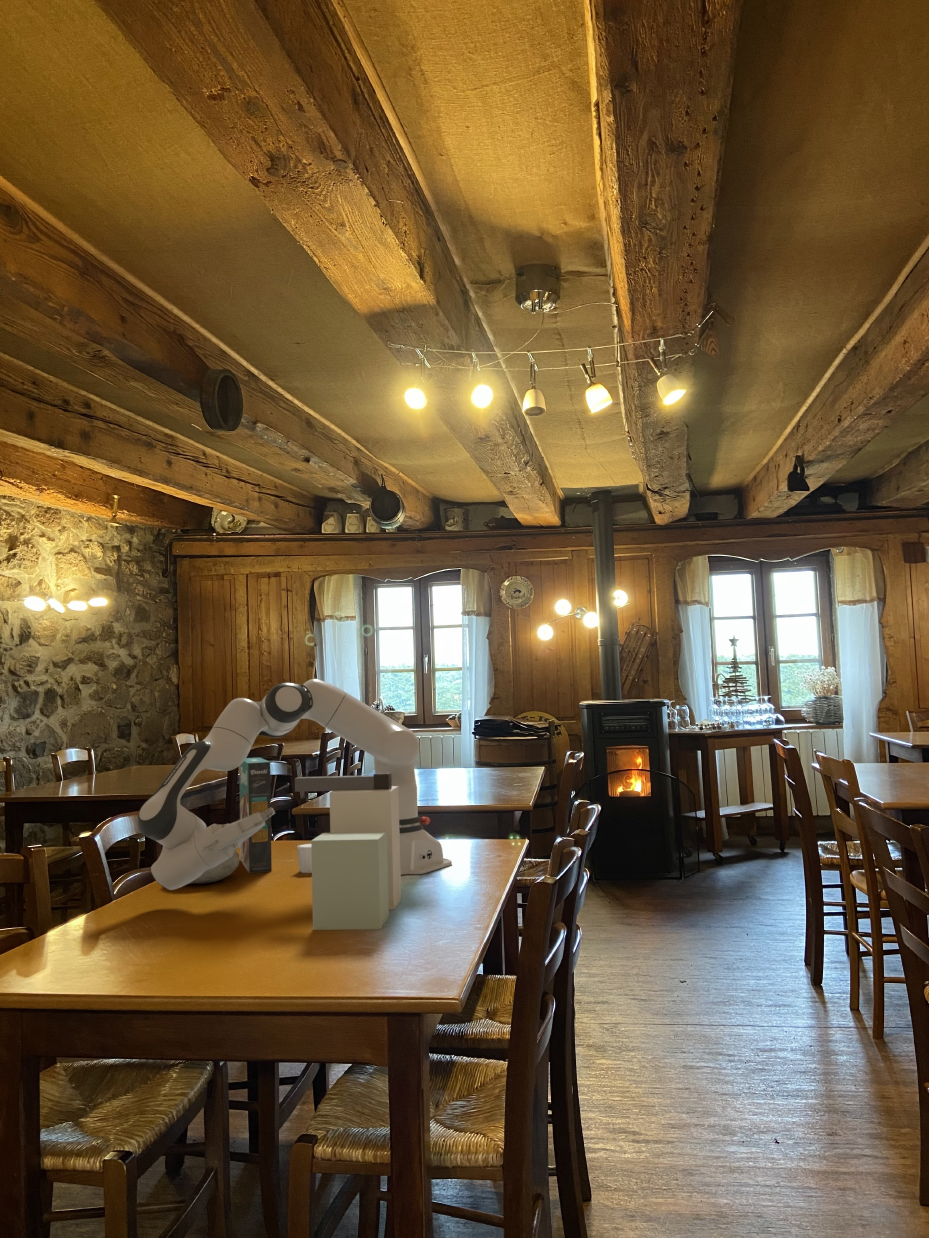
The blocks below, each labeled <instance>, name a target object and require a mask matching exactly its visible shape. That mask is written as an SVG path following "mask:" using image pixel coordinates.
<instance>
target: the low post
mask: <svg viewBox="0 0 929 1238" xmlns="http://www.w3.org/2000/svg"><path fill="white" fill-rule="evenodd" d="M311 849H312V873H311V885H312V886H311V887H312V888H311V891H312V892H311V893H312V895H311V898H312V903H311V904H312V930H313V931H332V930H333V931H335V930H336V931H337V930H338V931H339V930H341V931H342V930H343V931H344V930H346V931H348V930H357V931H358V930H381V929H382V928H383V926H384V925H385V923H387V921H388V919H389V918H390V910H389V896H388V856H387V832H339V833H330V832H322V833H320V834H319V835H318V836H316V837H314V838H313V839H311Z"/></svg>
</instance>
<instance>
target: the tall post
mask: <svg viewBox="0 0 929 1238" xmlns="http://www.w3.org/2000/svg"><path fill="white" fill-rule="evenodd" d="M329 827H330V828H329V831H330V832H329V833H339V832H387V856H388V896H389V911H394V910H395V909H396V908H397V906H398V905H399V903H400V901H401V900H402V883H401V882H402V878H401V877H402V875H401V871H400V833H399V795H398V786H392V788H391V789H389V790H342V791H329Z"/></svg>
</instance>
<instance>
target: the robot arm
mask: <svg viewBox="0 0 929 1238" xmlns="http://www.w3.org/2000/svg"><path fill="white" fill-rule="evenodd" d="M301 719H303V720H305V719H307V720H311V721H313V722H315V723H318V724H319V725H320V726H321V727H323V728H325V729H327V730H328V731H330V732H332V733H334V734H335V735H337V736H338V737H340V738H342V739H343V740H345V741H347V742H349V743H350V744H352V745H353V746H356V747H357V748H359V749H360V750H362V751H364V752H365V753H367V754H369V755H371V756H372V757H373V762H374V763H373V764H374V774H375V773H391V780H392V786H398V795H399V833H400V871H401V876H402V875H422V874H426V873H429V872H432V871H436V870H439V869H442V868H445V867H449V866H451V865H453V864H452V863H453V862H452V861H451V859H448V858H444V853H443V847H442V844H441V842H440V841H439V840H437V839H436V838H435V837H434V836H432V835H431V834H430V833H429V832H427V831H426V830H425V829H424V825H429V824H430V822H431V819H430V818H429V817H428V816H422V817H420V816H419V815H418V813H419V812H418V811H419V810H418V785H417V781H416V780H417V779H416V773H415V765H414V761H415V760H416V758H418V755H419V751H420V742H419V739H418V737H417V735H416V733H414V732H413V731H412V730H411V729H409V727H406V726H405V725H403V724H401V723H399V722H398V721H395V720H394V719H393V718H391V717H389V716H387V715H385V714H384V713H381V712H380V711H378V710H377V709H376V708H375V709H374V708H372V707H371V706H369V705H367V704H366V703H364V702H363V701H361V700H359V699H358V698H356V697H354V696H353V695H351V694H349V693H348V692H346V691H344V690H343V689H341V688H339V687H337V686H335V685H333V684H331V683H328V682H326V681H324V680H321V679H318V678H312V679H309V680H306V681H305V682H304V683H303V684H300V683H299V684H297V683H292V682H282V683H278V684H276V685H274V686H273V687H272V688H270V690H268V692H267V693H266V695H265V696H264V697H263V698H262V700H261V701H254V700H251V699H249V698H246V697H237V698H234V699H232V700H231V701H229V703H228V704H227V705H226V707H225V708H224V709H223V710H222V712H221V713H220V714H219V716H218V718H217V719H216V721H215V723H214V724H213V726H212V728H211V730H210V732H209V733H208V735H206V737H205V738H204V739H203V740H198V741H195V742H194V743H192V744H191V745H190V746H189V747H188V748H187V749H186V751H185V752H184V753H183V754H182V756H181V757H180V758H179V760H178V761H177V762H176V763H175V765H174V766H173V767H172V769H171V770H170V772H169V773H167V776H166V777H165V778H164V780H163V781H162V782H161V784H160V785H159V786H158V788H157V789H156V790H155V791H154V793H153V794H151V796H150V797H149V798H148V799H147V800H145V801H144V803H143V804H142V805H141V807H140V808H139V811H138V813H137V829H138V830H139V833H140V834H141V835H143V836H145V837H147V838H148V839H151V840H152V841H155V842H158V844H160V845H162V849H161V852H160V855H159V857H158V858H157V860H156V861H155V862H154V863H153V864H152V865H151V867H150V871H151V874H152V877H153V879H154V880H155V881H156V882H157V883H158V885H159V886H161V887H162V888H165V889H166V890H168V891H173V890H177V889H180V888H182V887H184V886H186V885H189V884H188V883H190V882H192V881H193V880H195V879H197V878H198V877H200V876H201V875H202V874H203V873H204V872H205V871H206V870H209V869H212V868H215V867H216V866H218V865H219V864H221V863H223V862H224V861H226V860H228V859H229V858H231V857H232V856H233V854H234V852H235V851H236V852H237V850H238V849H240V846H241V843H243V842H244V841H245V840H247V839H248V838H249V837H251V836H252V835H253V834H254V833H256V832H257V831H258V830H260V829H261V828H262V827H263V826H264V825H265V820H267V819H268V818H269V817H270V816H271V817H272V816H273V815H275V814H276V811H275V809H274V808H273V807H272V806H271V808H269V809H267V810H265V811H264V812H262V813H259V812H257V813H254V814H252V815H250V816H248V817H245V818H243V819H241V820H240V819H238V820H237V821H233V822H231V823H224V824H217V823H213V824H211V825H209V826H207V824H206V823H205V822H204V820H202V819H201V818H200V817H198V816H197V815H196V814H194V812H192V811H189V810H188V808H186V807H184V806H183V805H181V798H182V796H183V795H184V794H185V792H186V791H187V789H188V788H189V787H190V785H191V784H192V783H193V781H194V779H195V778H196V776H198V774H199V773H201V772H202V771H204V770H212V771H216V772H217V771H218V772H228V771H229V772H230V771H233V770H235V769H238V768H239V766H240V765H241V764H242V763H243V762H244V760H245V759H246V758H248V755H249V753H250V751H251V749H252V747H253V745H254V743H255V740H256V739H257V737H258V736H264V737H268V738H271V739H277V738H278V739H279V738H283V737H285V736H287V735H288V734H289V733H291V732H292V731H293V729H295V728H296V726H297V725H299V722H300V720H301Z"/></svg>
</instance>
